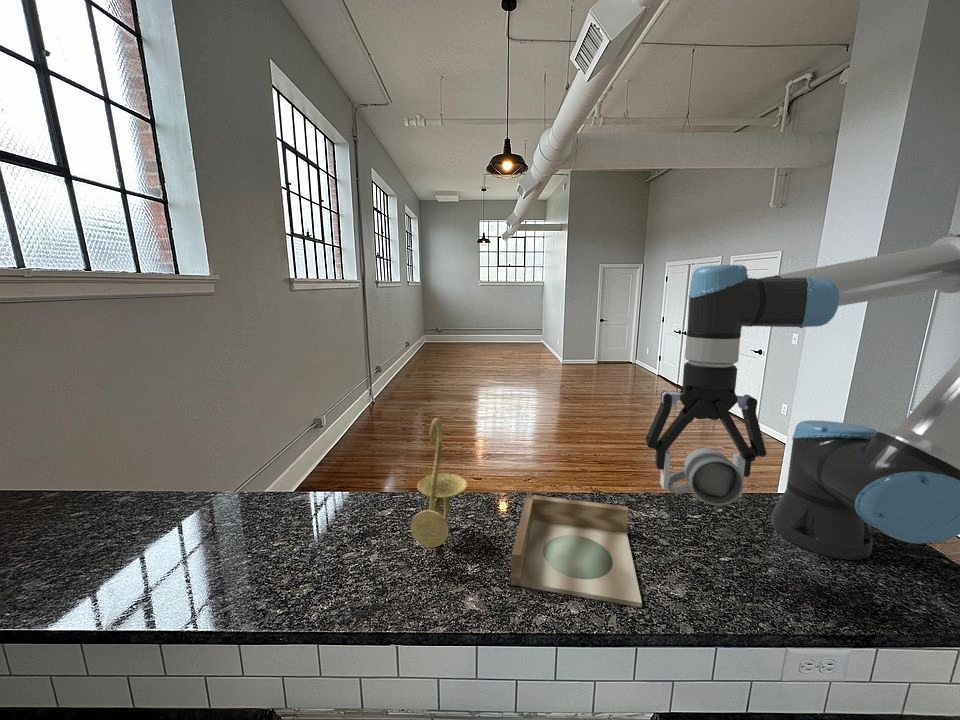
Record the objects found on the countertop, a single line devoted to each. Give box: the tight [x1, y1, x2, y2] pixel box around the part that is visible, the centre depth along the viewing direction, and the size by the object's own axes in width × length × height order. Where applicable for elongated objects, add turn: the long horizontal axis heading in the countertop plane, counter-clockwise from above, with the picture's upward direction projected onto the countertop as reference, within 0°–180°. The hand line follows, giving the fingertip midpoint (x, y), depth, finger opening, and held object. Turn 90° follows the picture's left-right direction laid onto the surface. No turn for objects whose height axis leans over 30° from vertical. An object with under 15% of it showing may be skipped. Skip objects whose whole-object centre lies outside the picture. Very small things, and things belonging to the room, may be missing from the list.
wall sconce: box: [410, 417, 468, 548], centre depth 74 cm, size 14×10×25 cm
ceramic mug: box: [667, 447, 744, 506], centre depth 67 cm, size 11×8×8 cm
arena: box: [510, 493, 643, 608], centre depth 71 cm, size 20×20×6 cm
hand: (699, 489), depth 68 cm, fingers closed on ceramic mug, 10 cm apart
